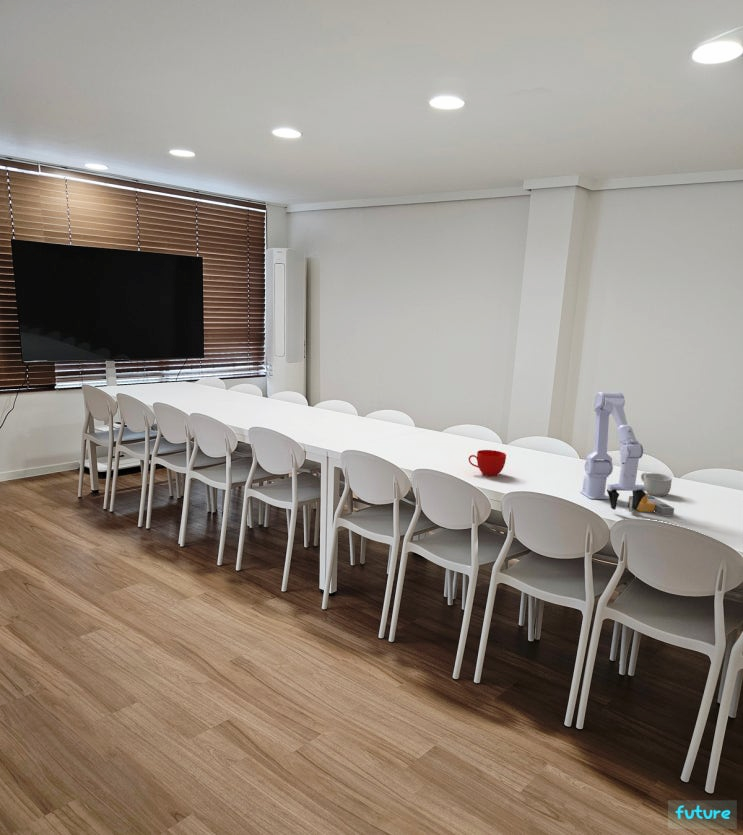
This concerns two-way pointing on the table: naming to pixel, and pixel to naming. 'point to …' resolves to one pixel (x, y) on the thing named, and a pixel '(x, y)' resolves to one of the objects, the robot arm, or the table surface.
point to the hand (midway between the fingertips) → (623, 508)
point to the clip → (630, 503)
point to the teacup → (656, 483)
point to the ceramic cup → (489, 462)
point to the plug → (646, 505)
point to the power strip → (661, 506)
